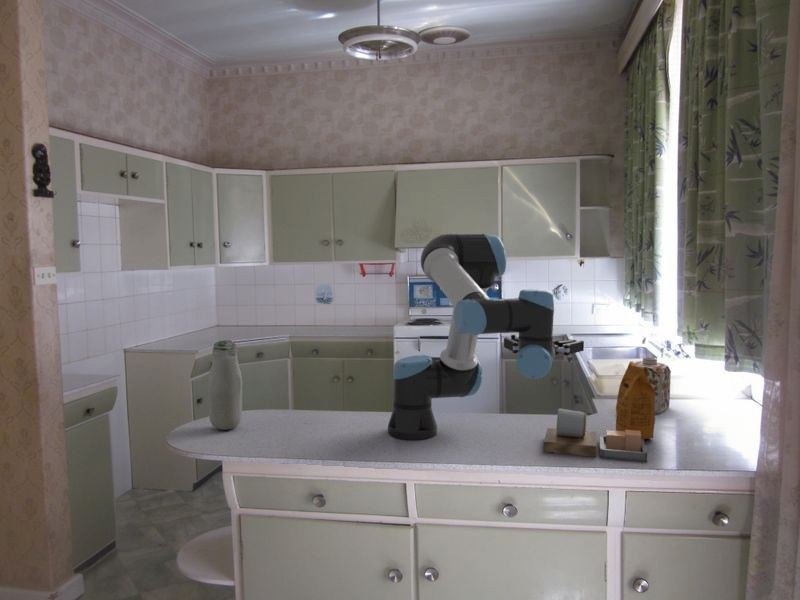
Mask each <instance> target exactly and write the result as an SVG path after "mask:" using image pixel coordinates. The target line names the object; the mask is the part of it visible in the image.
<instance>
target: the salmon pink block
mask: <svg viewBox="0 0 800 600" xmlns="http://www.w3.org/2000/svg"><path fill="white" fill-rule="evenodd" d="M605 433H606V449H614V450H625V431H616V430H611V429H606V431H605Z"/></svg>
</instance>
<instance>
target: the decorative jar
mask: <svg viewBox="0 0 800 600" xmlns="http://www.w3.org/2000/svg"><path fill="white" fill-rule="evenodd" d="M633 363H634V364H636V366H637V367H643V368H646V369H648V372H647V373H645V375H646V377H647V379H648V380H649V382H650V384H651V385H652V387H653V389H654V391H655V412H654V414H657V415H660V414H662V413H664V411H666V410H667V409H668V408H669V407H670V401H671V400H670V399H671V398H670V397H671V375H672V374H671V373H672V371H671V369H670V366H669V365H667V364H665V363H661V362H658V360H657V358H655V357H643V358H642V361H641V360H639V361H635V362H633Z"/></svg>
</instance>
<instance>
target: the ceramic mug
mask: <svg viewBox="0 0 800 600" xmlns="http://www.w3.org/2000/svg"><path fill="white" fill-rule="evenodd" d="M556 417H557V418H556V428H555V429H556V435H558V436H570V437H584V436H585V432H586V431H587V430H586V429H587V428H586V427H587V414H586V413H585V412H582V411H577V410H571V409H565V408H561V407H560V408H558V410H557V415H556Z"/></svg>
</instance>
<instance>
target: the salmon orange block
mask: <svg viewBox="0 0 800 600" xmlns="http://www.w3.org/2000/svg"><path fill="white" fill-rule="evenodd" d="M625 451H636V452H641V431H637V430H625Z"/></svg>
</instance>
